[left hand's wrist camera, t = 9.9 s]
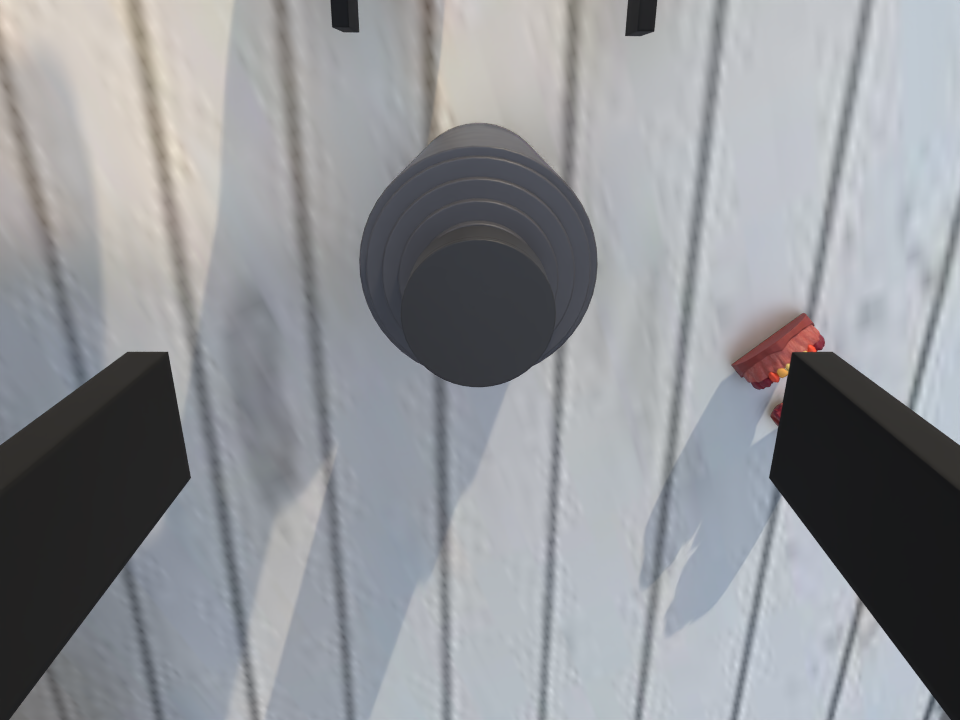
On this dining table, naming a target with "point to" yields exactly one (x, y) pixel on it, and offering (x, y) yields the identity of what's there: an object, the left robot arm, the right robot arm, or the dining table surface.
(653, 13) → the right robot arm
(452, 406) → the dining table surface
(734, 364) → the dental model
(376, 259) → the bottle
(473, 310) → the cap
